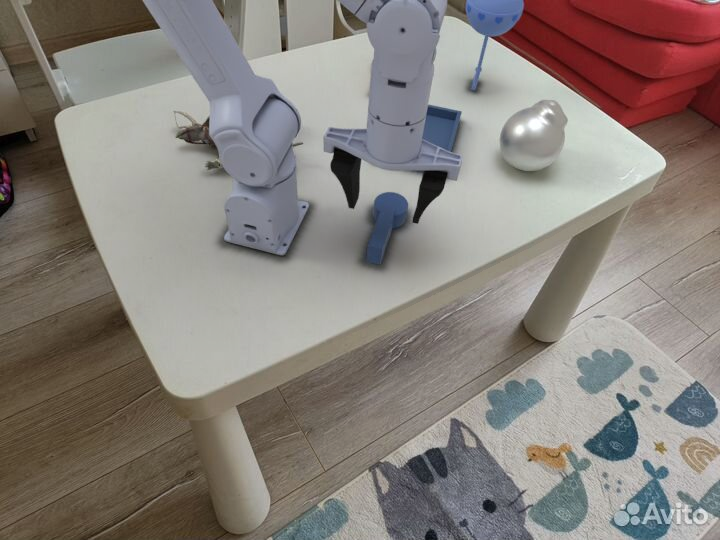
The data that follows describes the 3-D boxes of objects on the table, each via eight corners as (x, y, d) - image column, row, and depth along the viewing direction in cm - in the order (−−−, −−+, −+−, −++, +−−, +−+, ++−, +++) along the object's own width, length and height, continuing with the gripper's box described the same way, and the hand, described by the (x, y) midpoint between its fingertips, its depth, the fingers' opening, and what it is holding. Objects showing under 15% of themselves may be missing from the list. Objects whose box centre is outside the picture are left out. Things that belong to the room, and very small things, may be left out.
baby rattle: (494, 106, 86) (528, -6, 72) (444, 95, 88) (467, -18, 74) (501, 81, 92) (534, -29, 78) (454, 70, 93) (477, -39, 79)
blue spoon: (390, 267, 63) (393, 251, 60) (355, 259, 63) (357, 242, 61) (409, 209, 69) (412, 192, 67) (377, 202, 70) (379, 185, 68)
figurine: (146, 137, 68) (186, 71, 78) (159, 174, 72) (196, 107, 83) (297, 145, 66) (317, 77, 77) (301, 182, 71) (319, 113, 82)
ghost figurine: (565, 182, 75) (593, 123, 67) (503, 185, 74) (524, 125, 66) (543, 143, 81) (566, 85, 73) (484, 146, 79) (502, 86, 72)
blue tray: (444, 177, 74) (446, 166, 73) (375, 161, 75) (376, 150, 74) (459, 122, 83) (461, 111, 81) (397, 109, 84) (398, 98, 83)
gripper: (476, 101, 52) (451, 201, 62) (338, 74, 54) (336, 175, 64) (466, 142, 47) (441, 242, 58) (316, 111, 49) (317, 213, 60)
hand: (384, 210), depth 61 cm, fingers open, 7 cm apart
